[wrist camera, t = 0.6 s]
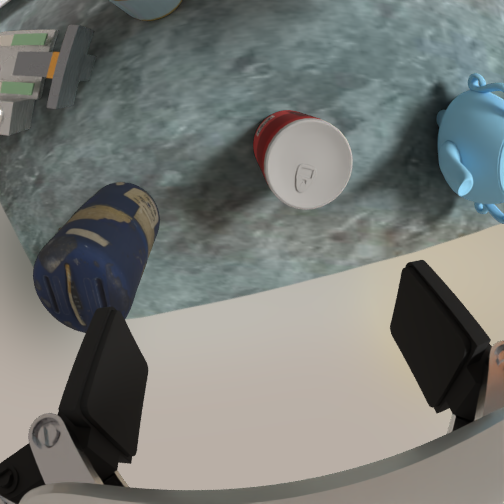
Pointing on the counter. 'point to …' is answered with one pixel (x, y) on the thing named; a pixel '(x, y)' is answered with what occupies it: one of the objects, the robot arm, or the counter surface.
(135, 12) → the bottle
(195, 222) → the counter surface
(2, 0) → the salad plate
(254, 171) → the counter surface
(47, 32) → the gauge body
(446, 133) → the teapot
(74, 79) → the grey t-shaped piece
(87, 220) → the canister
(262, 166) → the canned food
